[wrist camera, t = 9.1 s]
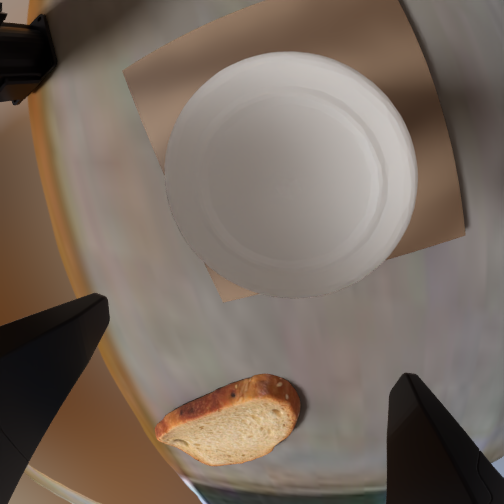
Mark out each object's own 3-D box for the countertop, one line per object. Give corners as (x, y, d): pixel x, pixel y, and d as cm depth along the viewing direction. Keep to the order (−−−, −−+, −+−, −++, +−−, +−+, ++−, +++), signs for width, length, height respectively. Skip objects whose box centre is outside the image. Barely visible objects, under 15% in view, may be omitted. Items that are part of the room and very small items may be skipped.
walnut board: (129, 71, 17) (122, 70, 16) (380, -21, 12) (383, -26, 11) (226, 295, 23) (223, 302, 22) (459, 230, 18) (465, 235, 17)
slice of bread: (301, 371, 26) (299, 403, 23) (298, 459, 33) (295, 482, 30) (127, 355, 29) (111, 379, 26) (170, 443, 37) (162, 463, 33)
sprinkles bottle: (263, 97, 16) (154, 52, 4) (342, 103, 16) (436, 67, 3) (260, 172, 18) (166, 293, 6) (337, 179, 17) (395, 316, 5)
